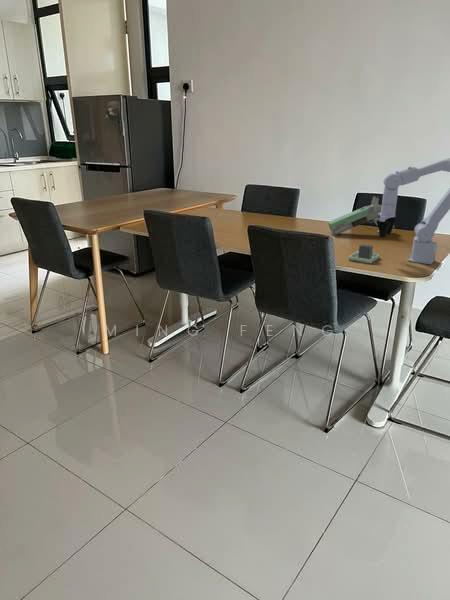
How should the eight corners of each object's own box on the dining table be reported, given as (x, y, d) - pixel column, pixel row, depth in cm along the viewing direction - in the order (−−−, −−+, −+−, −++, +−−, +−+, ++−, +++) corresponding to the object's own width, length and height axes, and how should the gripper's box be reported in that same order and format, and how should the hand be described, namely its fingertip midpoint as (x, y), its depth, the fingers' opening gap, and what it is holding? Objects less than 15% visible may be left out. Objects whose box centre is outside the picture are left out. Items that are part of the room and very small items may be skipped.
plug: (371, 257, 197) (373, 245, 195) (369, 259, 194) (370, 247, 192) (356, 255, 200) (358, 243, 198) (354, 257, 198) (355, 245, 196)
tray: (379, 258, 199) (379, 254, 198) (371, 264, 190) (371, 260, 190) (357, 254, 204) (357, 250, 203) (348, 260, 196) (348, 256, 195)
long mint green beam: (396, 229, 238) (386, 194, 231) (339, 252, 242) (328, 218, 234) (391, 226, 245) (381, 192, 238) (335, 249, 248) (324, 216, 241)
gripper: (384, 200, 196) (381, 231, 201) (374, 205, 185) (370, 237, 190) (401, 201, 192) (397, 233, 197) (391, 206, 181) (387, 239, 186)
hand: (385, 235), depth 194 cm, fingers open, 7 cm apart
